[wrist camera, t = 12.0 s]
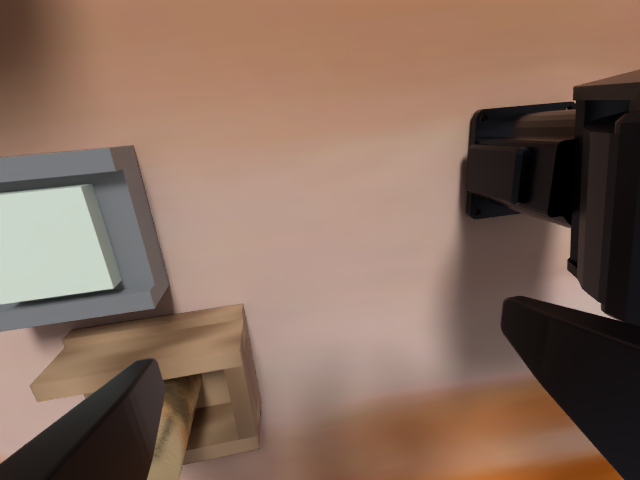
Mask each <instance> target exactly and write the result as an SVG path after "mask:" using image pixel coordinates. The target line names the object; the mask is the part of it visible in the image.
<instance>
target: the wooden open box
mask: <svg viewBox="0 0 640 480" xmlns="http://www.w3.org/2000/svg"><path fill="white" fill-rule="evenodd" d="M62 342H63V344H64V347H65V348H64V349H63V350H62V351H61V352H60V353H59V355H58V356H57V357H56V358H55V359H54V360H53V361H52V362H51V363H50V364H49V365H48V367H47V368H46V369H45V370H44V371H43V372H42V373H41V374H40V375H39V376H38V377H37V378H36V380H35V381H34V382H33V383H32V384H31V385H30V388H31V390H32V392H33V394H34V396H35V398H36V401H37V402H41V401H46V400H52V399H58V398H63V397H69V396H75V395H80V394H84V396H85V399H86V398H87V397H89V396H90V395H91V394H93V393H94V392H95V391H97V390H98V389H99V388H100V387H102V386H103V385H104V384H106V383H107V382H108V381H110V380H111V379H112V378H114V377H115V376H116V375H118V374H119V373H120V372H121V371H123V370H124V369H125V368H127V367H128V366H129V365H131V364H132V363H133V362H135V361H137V360H141V359H147V358H154V359H156V360H157V362H158V365H159V368H160V372H161V375H162V378H163V380H165V379H171V378H177V377H182V376H188V375H194V374H199V373H201V376H202V383H201V387H200V392H199V396H198V400H197V405H196V409H195V413H194V417H193V422H192V426H191V430H190V434H189V439H188V443H187V447H186V451H185V456H184V460H183V464H182V465H185V464H189V463H194V462H199V461H204V460H209V459H213V458H218V457H223V456H228V455H233V454H237V453H242V452H247V451H252V450H256V449H259V431H260V414H261V400H260V395H259V389H258V384H257V378H256V373H255V368H254V362H253V357H252V351H251V346H250V340H249V335H248V329H247V324H246V318H245V313H244V307H243V304H239V305H232V306H226V307H219V308H213V309H206V310H199V311H193V312H186V313H180V314H173V315H167V316H160V317H154V318H147V319H141V320H134V321H128V322H121V323H115V324H108V325H102V326H95V327H88V328H82V329H75V330H71V331H70V332H69V333H68V334H67V335H66V336H65V337H64V339H63V340H62Z"/></svg>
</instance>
